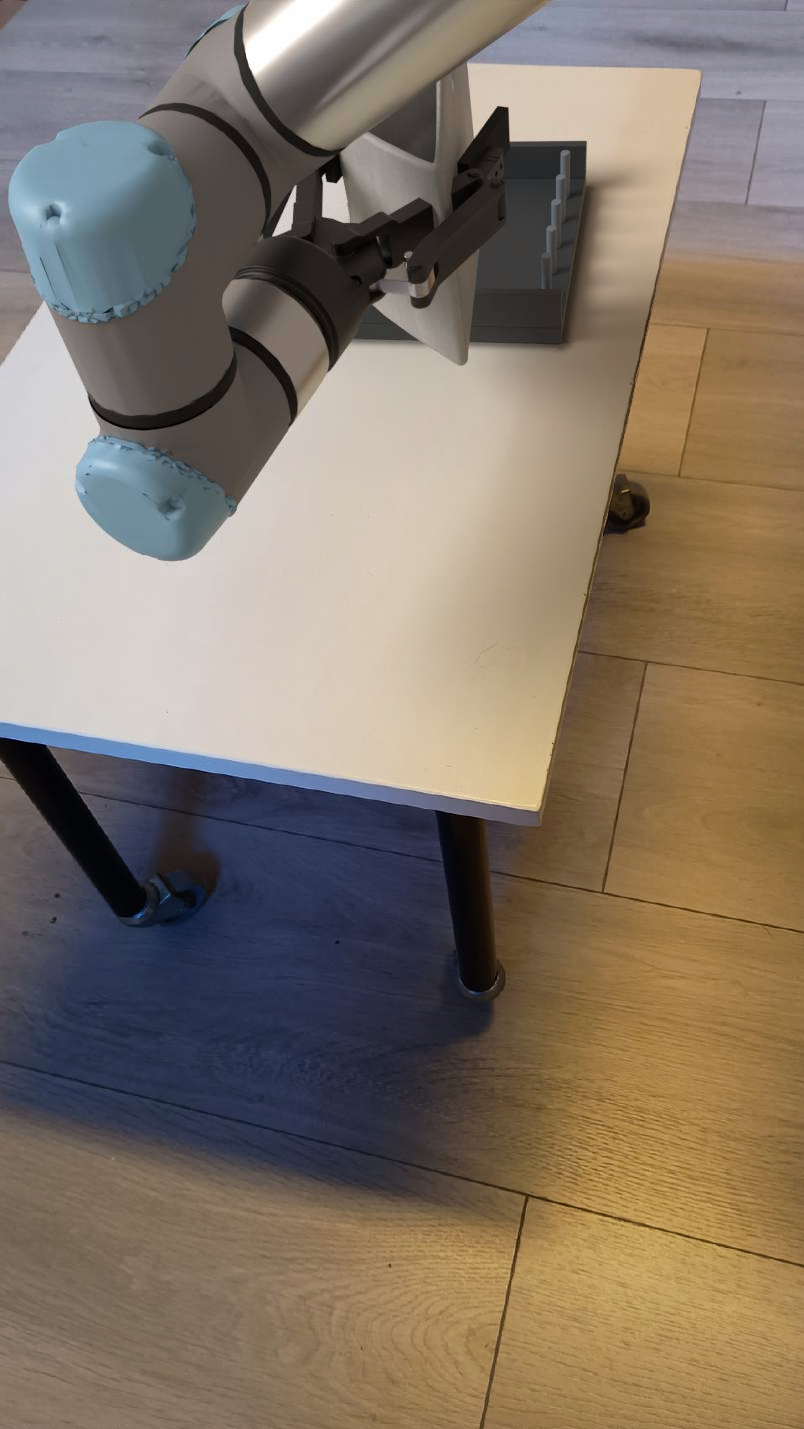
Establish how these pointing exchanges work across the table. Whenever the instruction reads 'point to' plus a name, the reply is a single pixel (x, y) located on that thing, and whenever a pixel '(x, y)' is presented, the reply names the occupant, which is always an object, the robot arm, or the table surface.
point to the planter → (412, 165)
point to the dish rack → (522, 250)
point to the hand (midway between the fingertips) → (436, 118)
